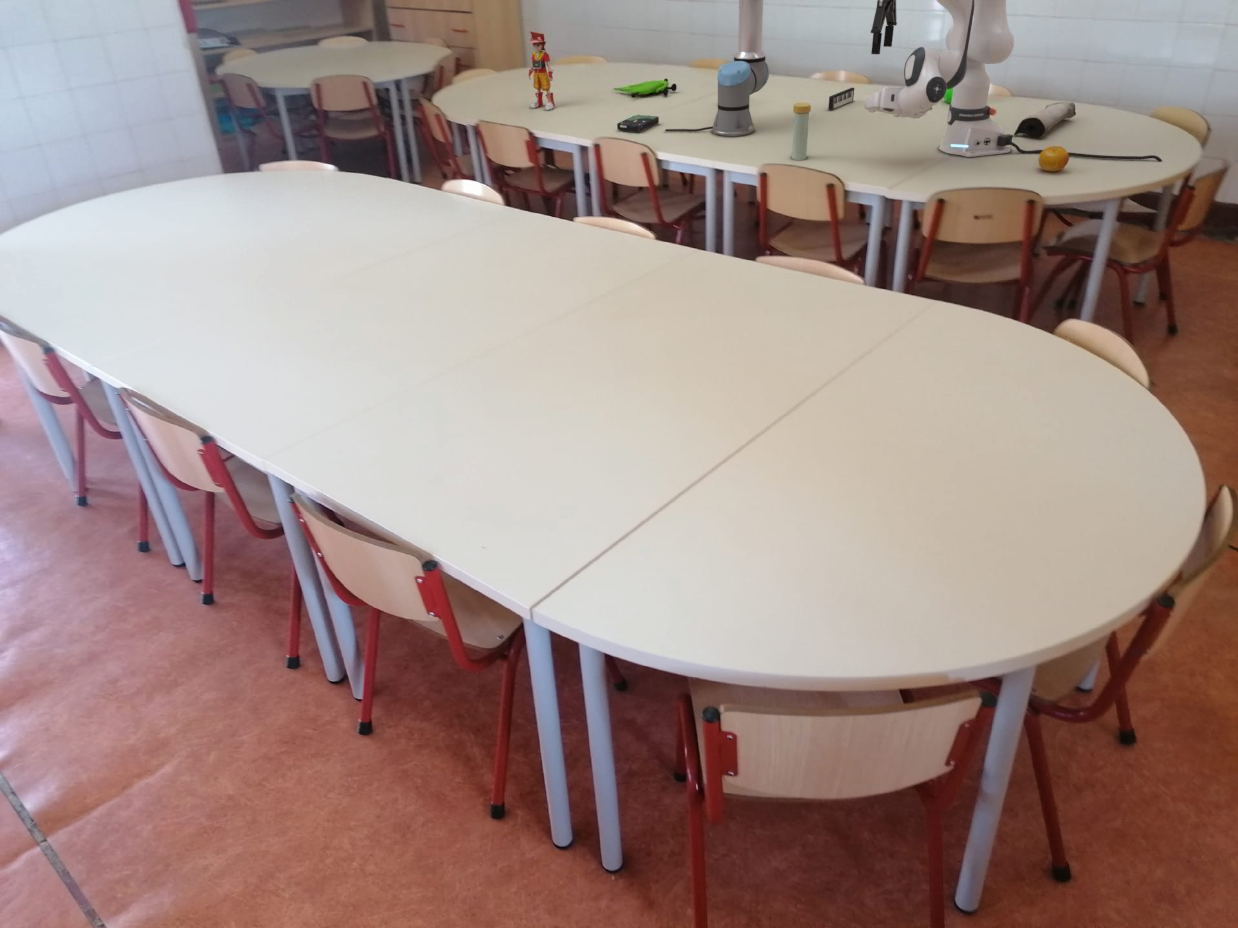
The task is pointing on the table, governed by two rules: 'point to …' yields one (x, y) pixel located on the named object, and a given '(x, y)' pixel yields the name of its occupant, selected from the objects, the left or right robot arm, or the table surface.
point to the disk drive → (638, 123)
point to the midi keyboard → (841, 98)
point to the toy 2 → (648, 88)
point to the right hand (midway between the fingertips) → (883, 112)
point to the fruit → (1053, 158)
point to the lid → (802, 107)
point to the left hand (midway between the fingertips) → (881, 50)
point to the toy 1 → (541, 71)
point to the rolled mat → (1045, 119)
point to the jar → (800, 136)
